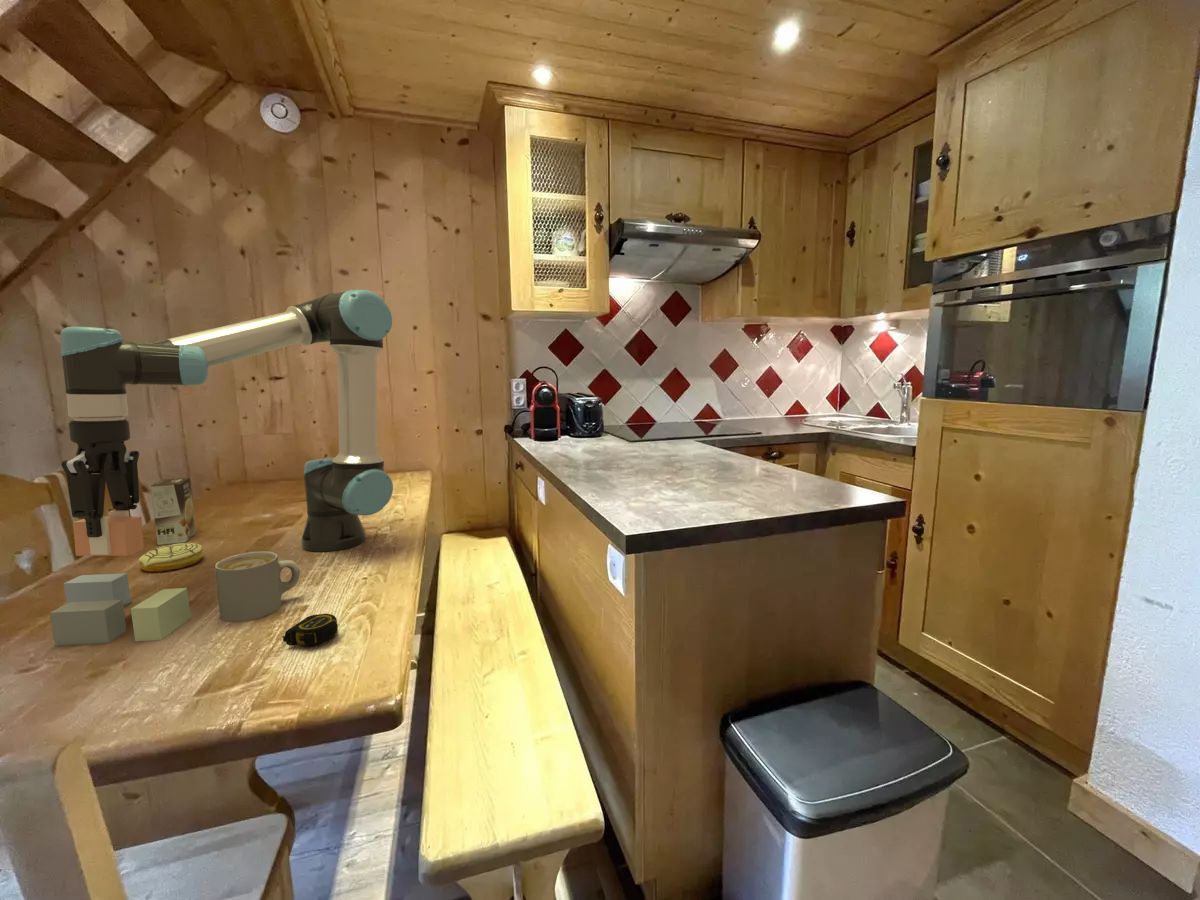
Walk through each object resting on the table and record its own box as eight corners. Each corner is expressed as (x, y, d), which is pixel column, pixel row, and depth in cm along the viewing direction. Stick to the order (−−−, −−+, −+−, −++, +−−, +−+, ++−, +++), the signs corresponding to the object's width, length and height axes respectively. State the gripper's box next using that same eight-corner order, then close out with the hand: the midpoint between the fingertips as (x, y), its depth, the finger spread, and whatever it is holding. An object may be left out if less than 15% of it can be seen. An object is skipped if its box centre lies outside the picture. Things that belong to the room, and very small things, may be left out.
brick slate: (126, 631, 91) (122, 599, 91) (108, 643, 88) (104, 610, 87) (75, 634, 90) (70, 602, 89) (55, 646, 86) (49, 612, 86)
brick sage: (167, 619, 96) (163, 589, 95) (190, 618, 97) (187, 588, 96) (135, 641, 88) (130, 608, 87) (161, 640, 89) (157, 607, 88)
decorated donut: (142, 563, 124) (140, 547, 123) (203, 553, 131) (201, 537, 130) (139, 578, 115) (136, 560, 114) (205, 566, 122) (203, 549, 122)
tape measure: (312, 629, 93) (311, 610, 92) (347, 633, 92) (345, 613, 91) (283, 649, 86) (281, 628, 86) (320, 653, 85) (318, 632, 84)
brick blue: (130, 602, 103) (127, 573, 102) (115, 611, 99) (111, 581, 98) (85, 604, 102) (81, 575, 101) (68, 613, 98) (63, 583, 97)
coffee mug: (218, 626, 93) (212, 574, 92) (222, 605, 102) (216, 557, 100) (303, 609, 100) (299, 560, 99) (300, 590, 109) (296, 545, 107)
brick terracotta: (143, 548, 95) (141, 516, 94) (126, 555, 91) (124, 522, 90) (95, 548, 94) (92, 516, 93) (75, 555, 90) (72, 522, 89)
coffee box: (187, 542, 138) (180, 483, 136) (156, 545, 135) (149, 485, 133) (196, 532, 146) (190, 477, 144) (168, 535, 144) (161, 478, 141)
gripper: (114, 415, 97) (126, 535, 100) (26, 422, 81) (43, 566, 83) (158, 416, 98) (168, 535, 101) (80, 423, 81) (95, 566, 84)
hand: (111, 549), depth 92 cm, fingers closed on brick terracotta, 4 cm apart
